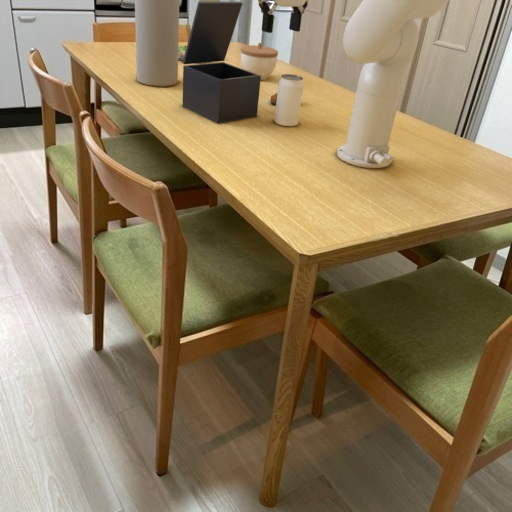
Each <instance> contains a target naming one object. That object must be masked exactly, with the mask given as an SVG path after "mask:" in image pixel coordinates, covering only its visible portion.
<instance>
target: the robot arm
mask: <svg viewBox="0 0 512 512" xmlns="http://www.w3.org/2000/svg"><path fill="white" fill-rule="evenodd" d="M309 1H310V0H257V2H258V7H259V8H260V12H261V14H262V21H261V31H262V32H264V33H268V34H273V32H274V31H273V30H274V21H275V15H274V14H273V13H274V12H275V10H276V9H277V7H285V8H290V7H291V9H292V12H290V17H289V27H288V29H289V31H294V32H301V26H302V17H303V14H305V10H306V8H307V7H308V3H309ZM449 1H450V0H362V1H361V2H360V4H359V5H358V7H357V8H356V10H355V11H354V13H353V14H352V16H351V17H350V18H349V20H348V21H347V24H346V26H345V29H344V32H343V36H342V47H343V50H344V52H345V55H346V56H347V58H349V59H350V60H351V61H353V62H354V63H358V64H363V66H362V68H361V71H360V73H359V76H358V77H359V78H358V80H357V81H358V82H357V86H356V91H355V95H354V100H353V105H352V111H351V116H350V119H349V120H350V121H349V125H348V129H347V135H346V139H345V140H346V141H345V144H343V145H341V146H339V147H338V148H337V151H336V155H337V157H338V158H339V159H340V160H341V161H343V162H345V163H347V164H350V165H353V166H354V167H359V168H365V169H383V168H386V167H388V166H389V165H391V163H392V162H393V161H394V157H393V156H392V155H391V154H389V153H390V148H391V147H390V146H389V143H390V139H391V134H392V130H393V126H394V123H395V118H396V113H397V110H398V106H399V103H400V98H401V95H402V91H403V87H404V82H405V79H406V76H407V72H408V69H409V68H410V64H411V62H412V59H413V57H414V55H415V53H416V50H417V48H418V43H419V39H420V31H419V26H418V23H417V22H416V19H417V20H418V19H427V18H431V17H433V16H436V15H437V14H438V13H439V12H440V11H442V10H443V9H444V8H445V6H446V5H447V4H448V2H449Z"/></svg>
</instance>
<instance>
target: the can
mask: <svg viewBox="0 0 512 512" xmlns="http://www.w3.org/2000/svg"><path fill="white" fill-rule="evenodd" d="M304 85H305V84H304V77H303V76H301V75H297V74H290V73H285V74H281V75H280V79H279V80H278V86H277V92H276V93H277V101H276V104H275V111H274V119H273V120H274V123H275V124H276V125H278V126H282V127H286V128H287V127H291V128H292V127H296V126H297V125H298V124H299V120H300V114H301V107H302V99H303V94H304Z"/></svg>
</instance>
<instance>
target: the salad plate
mask: <svg viewBox="0 0 512 512" xmlns="http://www.w3.org/2000/svg"><path fill="white" fill-rule="evenodd" d="M186 48H187V45H178V62H183V59H184V56H185V52H186Z"/></svg>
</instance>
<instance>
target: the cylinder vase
mask: <svg viewBox="0 0 512 512" xmlns="http://www.w3.org/2000/svg"><path fill="white" fill-rule="evenodd" d="M134 18H135V19H134V23H135V24H134V25H135V64H136V65H135V66H136V80H137V81H138V83H140V84H142V85H145V86H150V87H160V88H161V87H171V86H174V85H176V84H177V83H178V81H179V60H178V47H179V37H180V36H179V35H180V32H179V31H180V0H134Z"/></svg>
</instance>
